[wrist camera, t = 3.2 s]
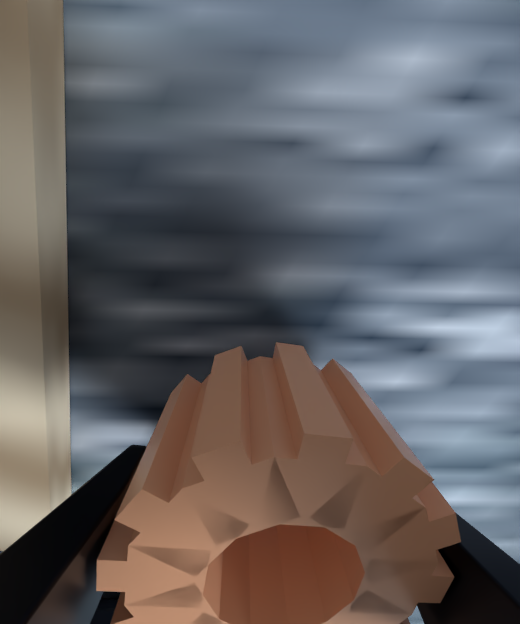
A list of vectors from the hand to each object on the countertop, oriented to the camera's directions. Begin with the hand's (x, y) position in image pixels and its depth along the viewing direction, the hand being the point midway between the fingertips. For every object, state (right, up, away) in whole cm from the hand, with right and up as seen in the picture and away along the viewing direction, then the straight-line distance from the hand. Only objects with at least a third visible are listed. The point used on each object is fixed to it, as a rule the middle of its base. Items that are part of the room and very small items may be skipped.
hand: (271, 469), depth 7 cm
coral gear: (0, 0, +1) cm, 1 cm away
